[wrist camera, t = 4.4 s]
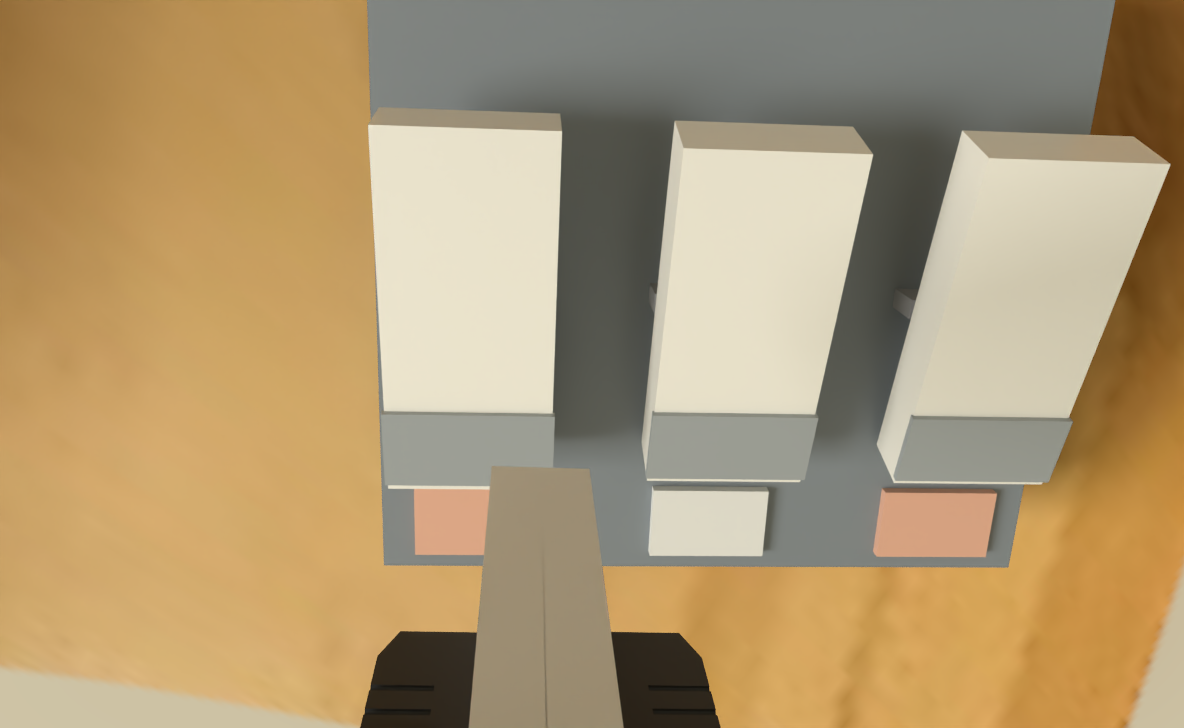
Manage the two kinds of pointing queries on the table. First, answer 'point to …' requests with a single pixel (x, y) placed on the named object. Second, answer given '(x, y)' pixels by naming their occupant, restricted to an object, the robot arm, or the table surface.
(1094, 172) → the switch
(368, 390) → the table surface
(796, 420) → the switch
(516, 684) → the robot arm
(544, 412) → the switch
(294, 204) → the table surface
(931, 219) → the switch unit
